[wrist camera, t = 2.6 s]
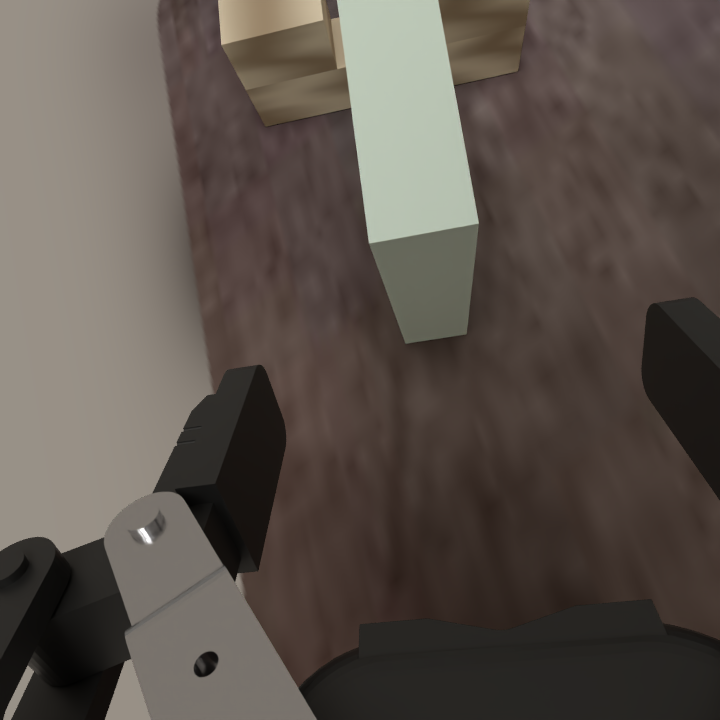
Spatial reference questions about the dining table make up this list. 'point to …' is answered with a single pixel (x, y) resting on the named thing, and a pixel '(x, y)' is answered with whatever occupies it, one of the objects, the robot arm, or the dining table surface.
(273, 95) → the birch slotted plate
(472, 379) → the dining table surface
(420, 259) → the mint green upright block
